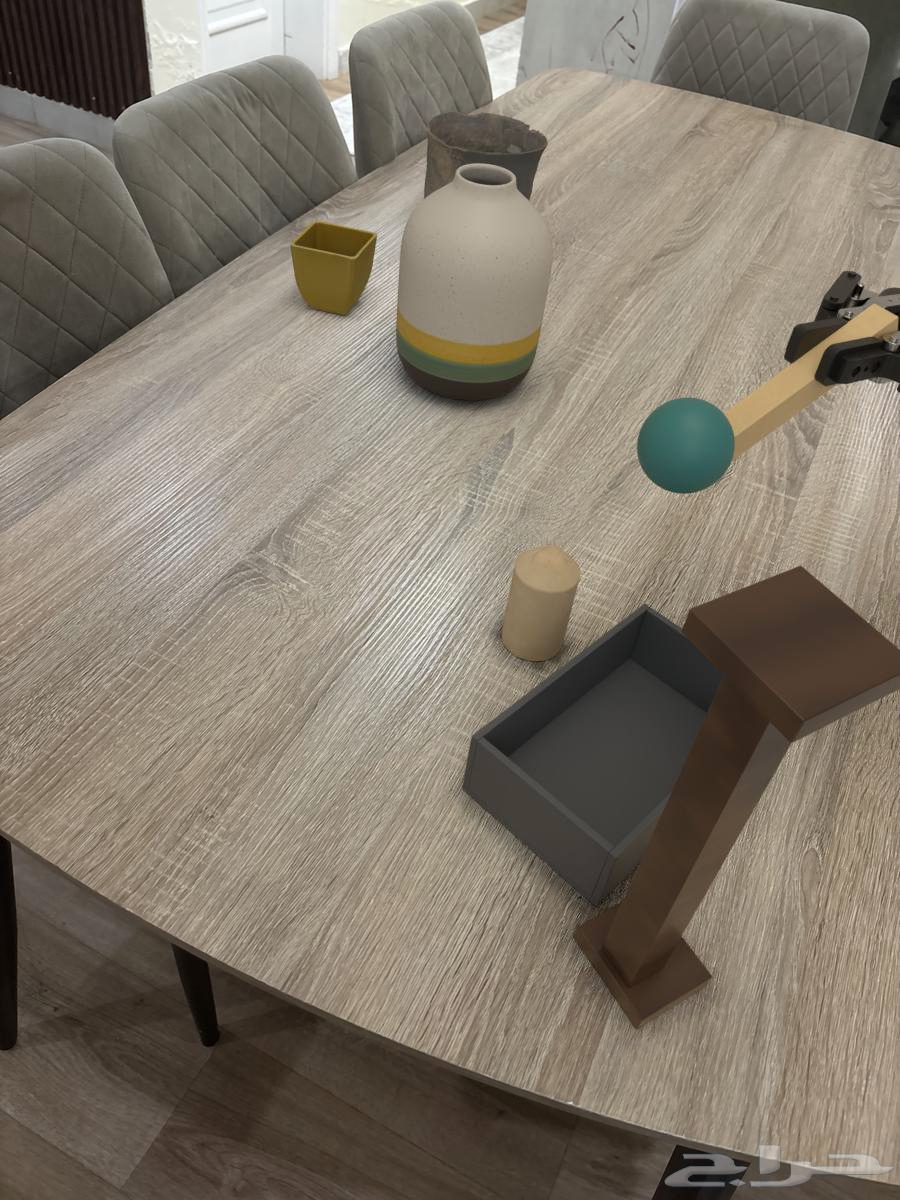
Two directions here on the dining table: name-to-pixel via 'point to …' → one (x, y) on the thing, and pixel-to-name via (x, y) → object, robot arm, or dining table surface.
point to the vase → (472, 285)
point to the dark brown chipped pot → (481, 148)
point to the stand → (734, 767)
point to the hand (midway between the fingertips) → (809, 356)
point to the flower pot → (332, 265)
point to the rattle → (738, 416)
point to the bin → (596, 750)
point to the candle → (540, 602)
